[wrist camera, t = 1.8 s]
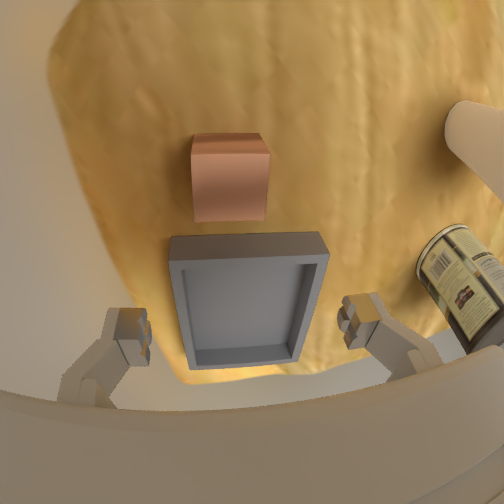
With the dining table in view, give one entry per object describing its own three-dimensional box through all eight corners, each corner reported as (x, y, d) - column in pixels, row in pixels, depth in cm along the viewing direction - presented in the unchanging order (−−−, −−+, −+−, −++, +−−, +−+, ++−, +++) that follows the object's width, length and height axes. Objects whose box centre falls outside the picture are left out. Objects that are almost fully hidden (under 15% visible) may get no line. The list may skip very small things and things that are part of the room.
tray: (171, 236, 27) (167, 261, 24) (318, 231, 29) (330, 254, 26) (189, 347, 38) (189, 370, 35) (292, 340, 40) (297, 361, 37)
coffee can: (458, 275, 37) (506, 344, 26) (407, 289, 37) (455, 372, 26) (480, 219, 31) (544, 290, 20) (427, 227, 30) (497, 316, 19)
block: (194, 133, 21) (190, 154, 18) (258, 133, 22) (270, 153, 18) (195, 190, 24) (194, 222, 21) (255, 189, 25) (264, 220, 21)
